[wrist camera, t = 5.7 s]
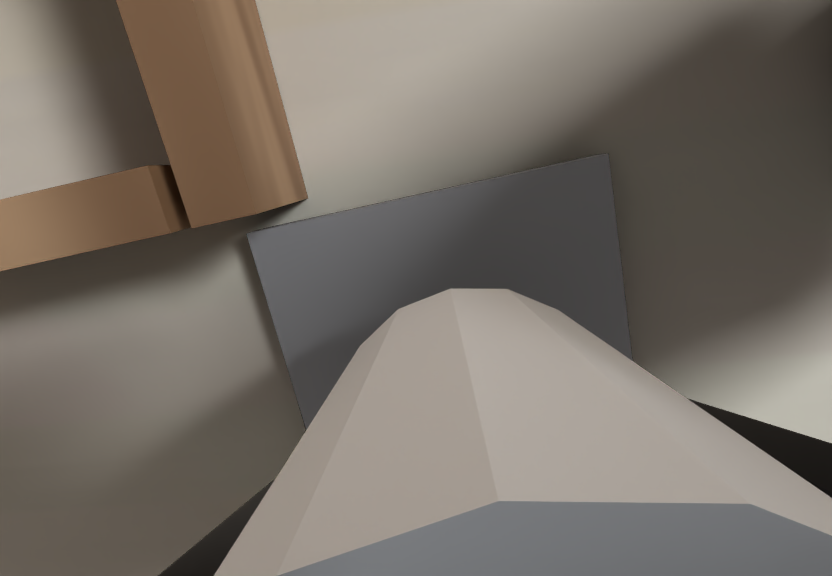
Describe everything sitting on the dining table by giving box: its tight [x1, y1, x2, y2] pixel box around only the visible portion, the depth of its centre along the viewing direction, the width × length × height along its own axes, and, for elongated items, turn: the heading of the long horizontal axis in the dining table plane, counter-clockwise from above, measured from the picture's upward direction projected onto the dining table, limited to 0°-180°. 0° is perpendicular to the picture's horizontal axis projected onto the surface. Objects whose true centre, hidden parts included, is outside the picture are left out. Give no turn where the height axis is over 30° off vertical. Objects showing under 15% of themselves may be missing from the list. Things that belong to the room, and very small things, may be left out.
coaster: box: [246, 154, 633, 430], centre depth 13 cm, size 9×9×1 cm
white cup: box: [214, 289, 832, 576], centre depth 7 cm, size 7×7×7 cm
